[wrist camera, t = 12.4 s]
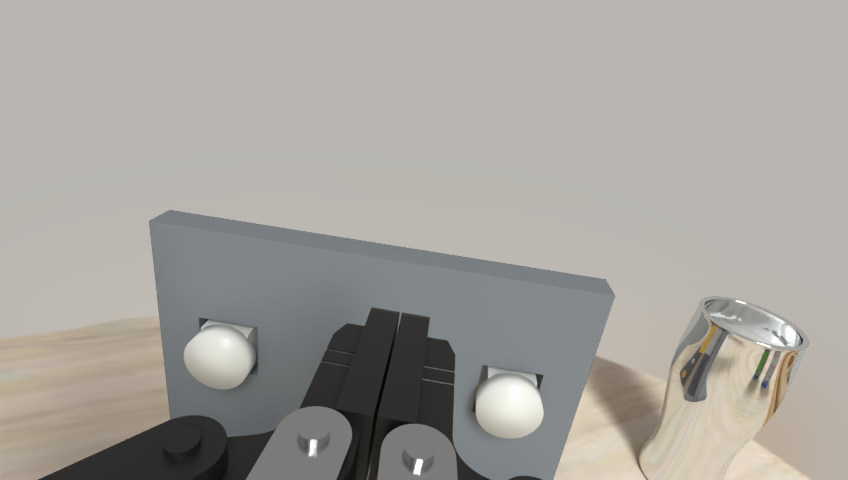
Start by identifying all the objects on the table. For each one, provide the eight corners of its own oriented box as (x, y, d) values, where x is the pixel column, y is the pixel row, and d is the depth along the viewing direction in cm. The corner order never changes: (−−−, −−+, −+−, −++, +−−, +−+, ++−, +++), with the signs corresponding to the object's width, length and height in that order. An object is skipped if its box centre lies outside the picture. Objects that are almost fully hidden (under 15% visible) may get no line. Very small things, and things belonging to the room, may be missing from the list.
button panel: (137, 498, 30) (97, 248, 23) (215, 393, 39) (203, 191, 32) (550, 573, 29) (639, 336, 22) (530, 447, 38) (589, 252, 31)
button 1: (470, 432, 28) (482, 381, 27) (470, 341, 37) (479, 298, 36) (535, 443, 28) (550, 392, 27) (519, 349, 37) (530, 306, 36)
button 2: (185, 383, 29) (181, 330, 28) (252, 305, 38) (252, 261, 36) (247, 394, 29) (246, 341, 27) (300, 312, 38) (301, 269, 36)
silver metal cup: (733, 531, 34) (830, 365, 28) (633, 490, 36) (703, 328, 30) (717, 461, 40) (794, 313, 34) (632, 429, 42) (690, 285, 36)
